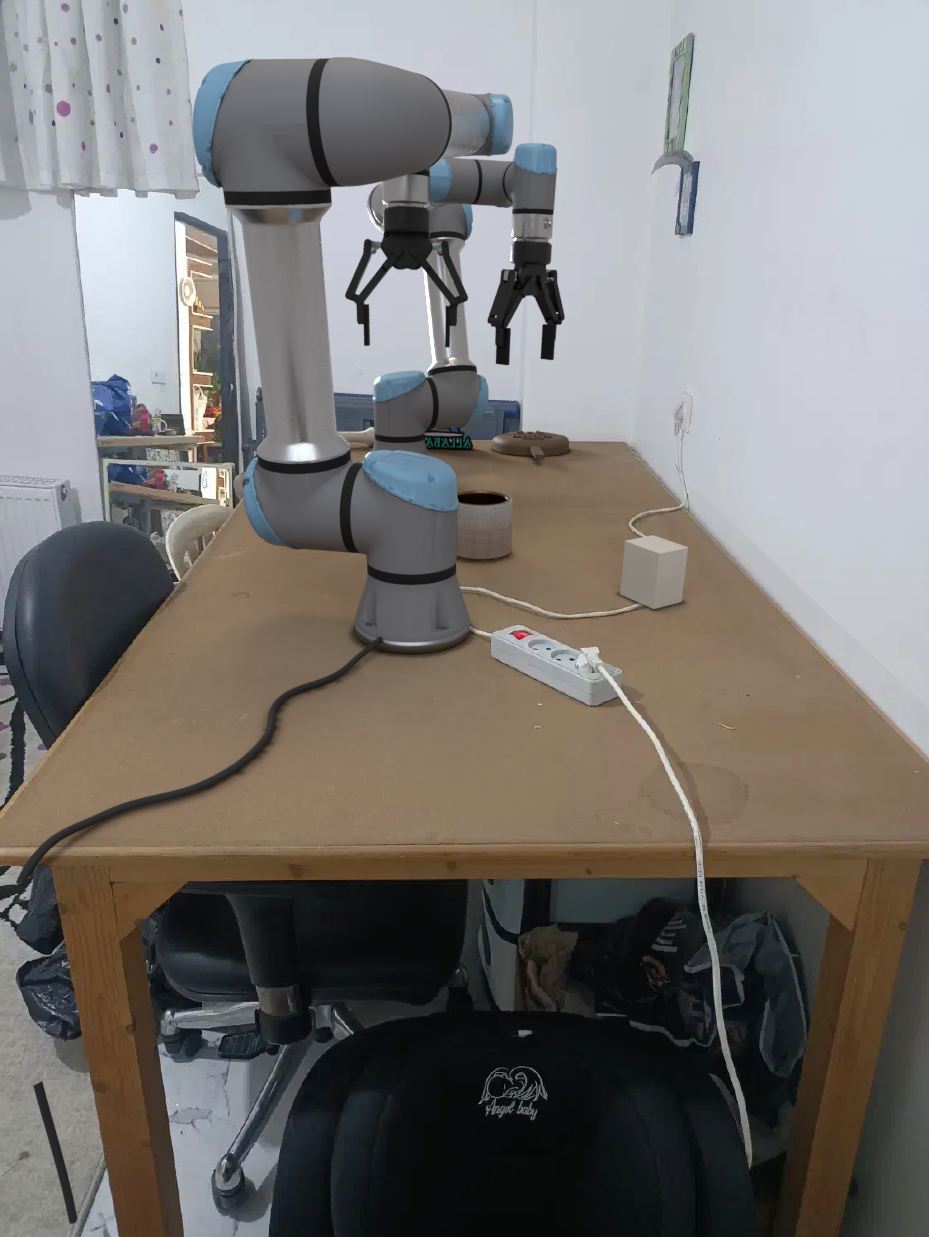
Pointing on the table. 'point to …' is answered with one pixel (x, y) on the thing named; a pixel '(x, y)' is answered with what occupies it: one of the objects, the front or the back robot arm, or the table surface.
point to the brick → (653, 571)
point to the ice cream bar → (531, 444)
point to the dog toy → (360, 436)
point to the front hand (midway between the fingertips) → (407, 346)
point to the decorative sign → (447, 439)
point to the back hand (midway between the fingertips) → (525, 362)
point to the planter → (484, 525)
